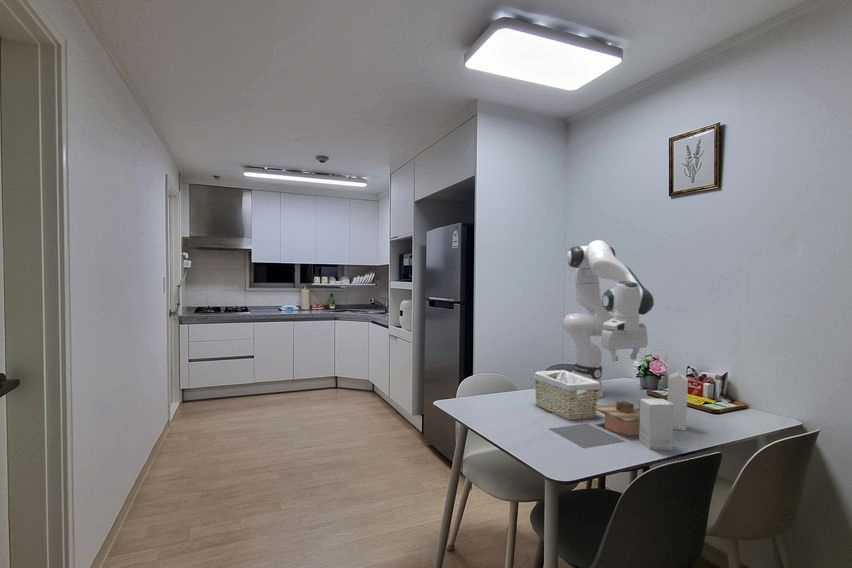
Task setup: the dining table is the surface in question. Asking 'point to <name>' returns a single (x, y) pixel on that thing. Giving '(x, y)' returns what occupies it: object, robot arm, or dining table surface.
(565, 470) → the dining table surface
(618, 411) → the oak lid
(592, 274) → the robot arm
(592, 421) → the dining table surface
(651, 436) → the skincare box
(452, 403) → the dining table surface
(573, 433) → the rubber mat
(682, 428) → the milk
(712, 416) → the dining table surface
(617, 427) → the terracotta bowl
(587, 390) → the storage basket
